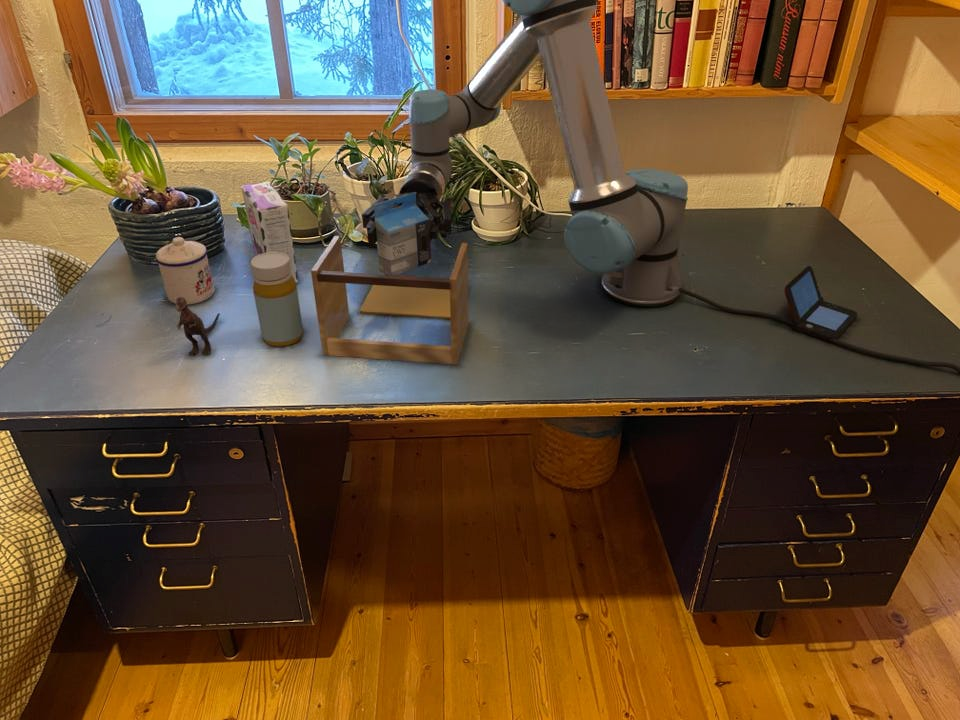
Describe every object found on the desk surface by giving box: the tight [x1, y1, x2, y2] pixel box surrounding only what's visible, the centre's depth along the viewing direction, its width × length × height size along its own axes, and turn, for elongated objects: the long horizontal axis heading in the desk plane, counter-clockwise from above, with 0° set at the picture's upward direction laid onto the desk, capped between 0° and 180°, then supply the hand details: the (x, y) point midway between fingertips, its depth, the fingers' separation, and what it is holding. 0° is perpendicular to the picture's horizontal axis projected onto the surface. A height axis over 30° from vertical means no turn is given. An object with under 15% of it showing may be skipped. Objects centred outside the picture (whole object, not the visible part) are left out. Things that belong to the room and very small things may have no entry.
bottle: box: [250, 252, 304, 348], centre depth 125 cm, size 7×7×15 cm
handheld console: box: [783, 265, 858, 342], centre depth 132 cm, size 12×11×7 cm
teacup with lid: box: [155, 236, 215, 306], centre depth 140 cm, size 12×9×12 cm
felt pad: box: [359, 285, 451, 320], centre depth 140 cm, size 18×12×1 cm, turn 83°
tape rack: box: [310, 235, 469, 366], centre depth 124 cm, size 23×13×16 cm, turn 83°
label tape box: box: [374, 192, 432, 276], centre depth 126 cm, size 9×4×12 cm, turn 132°
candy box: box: [240, 180, 299, 284], centre depth 145 cm, size 14×6×16 cm, turn 27°
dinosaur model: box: [175, 297, 221, 357], centre depth 125 cm, size 4×12×15 cm
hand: (397, 241), depth 122 cm, fingers closed on label tape box, 8 cm apart
